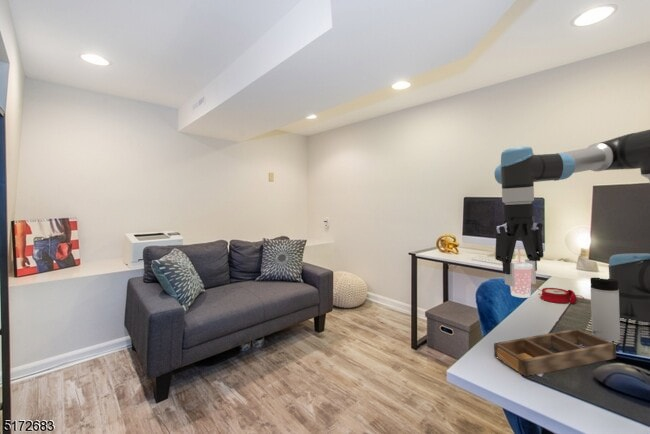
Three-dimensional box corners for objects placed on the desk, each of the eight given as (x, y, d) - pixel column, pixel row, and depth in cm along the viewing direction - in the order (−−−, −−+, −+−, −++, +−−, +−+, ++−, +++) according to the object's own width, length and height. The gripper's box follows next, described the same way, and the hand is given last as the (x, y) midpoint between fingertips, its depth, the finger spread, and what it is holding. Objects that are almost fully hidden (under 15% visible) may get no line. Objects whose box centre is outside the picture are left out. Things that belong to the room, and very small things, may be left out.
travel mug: (592, 342, 89) (590, 278, 88) (592, 334, 94) (590, 273, 93) (621, 348, 85) (619, 281, 84) (619, 339, 90) (617, 276, 89)
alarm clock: (536, 287, 134) (577, 282, 126) (540, 300, 133) (582, 296, 125) (537, 293, 125) (582, 289, 117) (542, 308, 125) (587, 304, 116)
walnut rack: (576, 341, 91) (576, 328, 91) (616, 358, 80) (615, 344, 80) (493, 356, 85) (492, 343, 85) (523, 377, 75) (523, 362, 75)
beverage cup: (509, 290, 88) (507, 244, 87) (534, 293, 84) (532, 245, 83) (506, 296, 83) (505, 248, 82) (533, 299, 79) (531, 248, 78)
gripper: (535, 201, 87) (537, 277, 88) (478, 205, 84) (481, 284, 85) (559, 201, 80) (561, 283, 81) (497, 205, 77) (500, 291, 78)
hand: (520, 283), depth 83 cm, fingers closed on beverage cup, 6 cm apart
